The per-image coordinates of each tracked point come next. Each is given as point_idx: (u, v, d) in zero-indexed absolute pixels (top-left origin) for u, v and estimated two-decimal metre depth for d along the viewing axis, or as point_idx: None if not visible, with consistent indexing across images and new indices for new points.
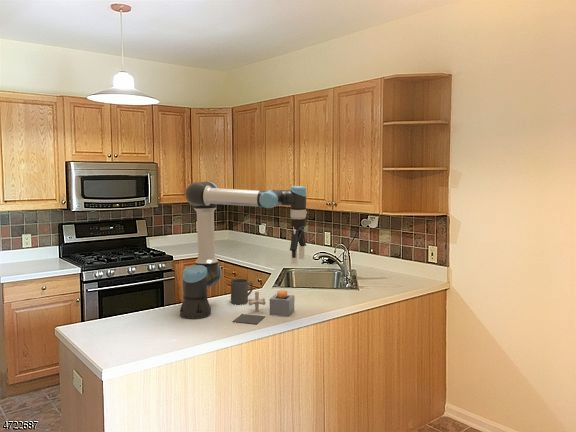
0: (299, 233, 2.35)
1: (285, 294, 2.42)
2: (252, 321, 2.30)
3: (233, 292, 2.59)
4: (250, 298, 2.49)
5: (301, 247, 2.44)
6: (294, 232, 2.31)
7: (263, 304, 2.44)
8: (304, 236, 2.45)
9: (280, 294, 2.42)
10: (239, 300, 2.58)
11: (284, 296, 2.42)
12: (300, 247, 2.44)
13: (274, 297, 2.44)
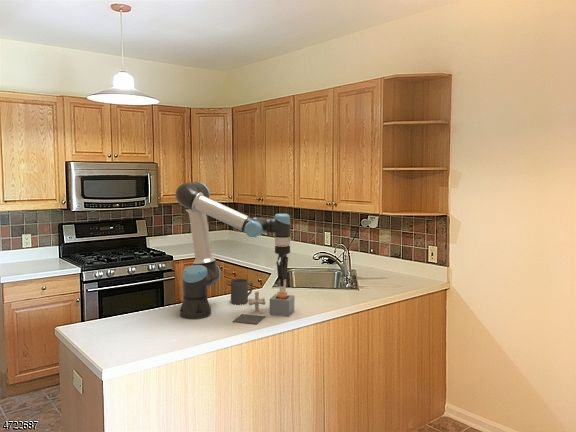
0: (284, 261, 2.40)
1: (285, 295, 2.42)
2: (252, 321, 2.30)
3: (233, 292, 2.59)
4: (250, 298, 2.49)
5: None
6: (279, 264, 2.37)
7: (263, 304, 2.44)
8: None
9: (280, 295, 2.42)
10: (239, 300, 2.58)
11: (284, 297, 2.42)
12: None
13: (274, 297, 2.44)
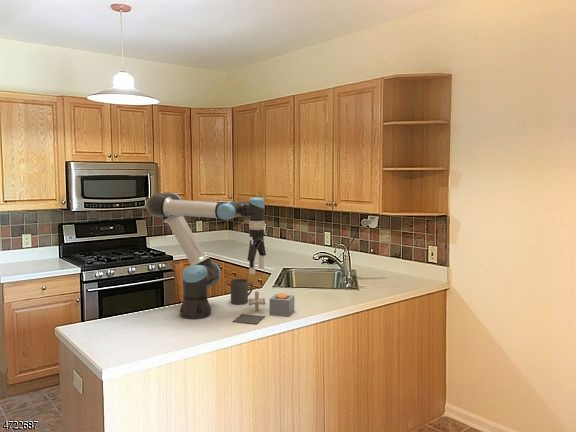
0: (257, 243, 2.41)
1: (285, 297, 2.42)
2: (252, 321, 2.30)
3: (233, 292, 2.59)
4: (250, 298, 2.49)
5: (261, 257, 2.51)
6: (252, 243, 2.38)
7: (263, 304, 2.44)
8: (264, 246, 2.52)
9: (280, 297, 2.42)
10: (239, 300, 2.58)
11: None
12: (260, 257, 2.51)
13: (274, 297, 2.44)
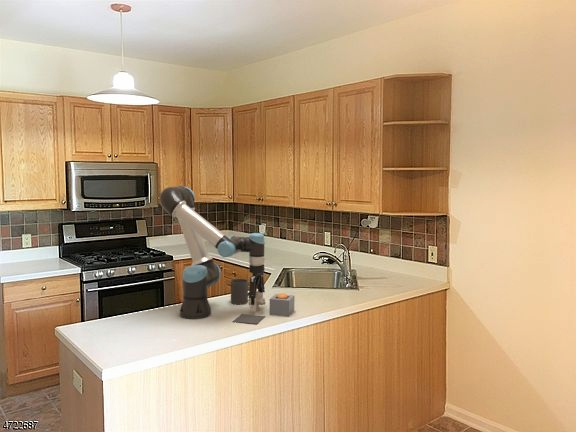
0: (257, 279, 2.43)
1: (285, 297, 2.42)
2: (252, 321, 2.30)
3: (233, 292, 2.59)
4: None
5: (260, 293, 2.52)
6: (252, 280, 2.40)
7: (263, 304, 2.44)
8: (263, 282, 2.53)
9: (280, 297, 2.42)
10: (239, 300, 2.58)
11: None
12: (259, 293, 2.52)
13: (274, 297, 2.44)
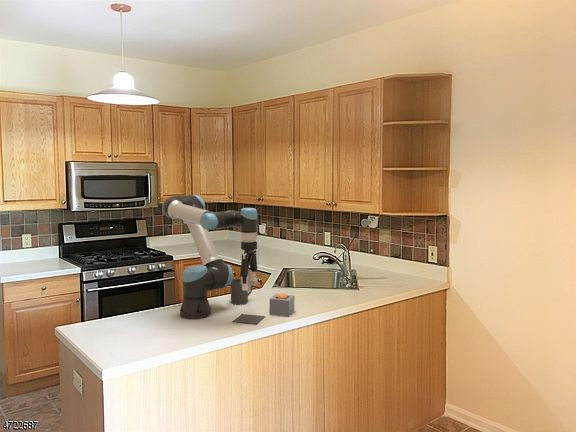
0: (249, 257, 2.28)
1: (285, 297, 2.42)
2: (252, 321, 2.30)
3: (233, 292, 2.59)
4: None
5: (252, 273, 2.37)
6: (243, 257, 2.25)
7: (256, 283, 2.29)
8: (256, 260, 2.38)
9: (280, 297, 2.42)
10: (239, 300, 2.58)
11: None
12: (251, 273, 2.37)
13: (274, 297, 2.44)
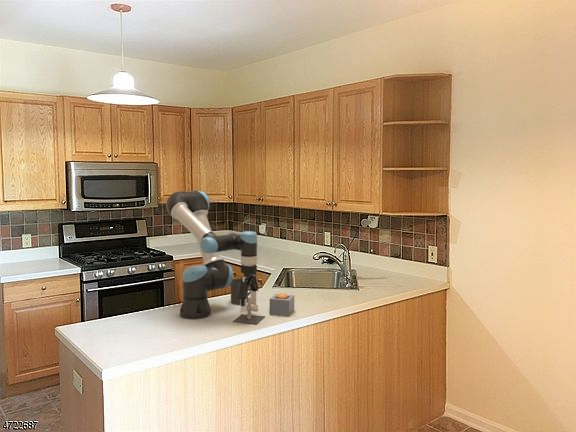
0: (249, 280, 2.29)
1: (285, 297, 2.42)
2: (252, 321, 2.30)
3: (233, 292, 2.59)
4: None
5: (253, 292, 2.39)
6: (243, 280, 2.25)
7: (256, 311, 2.30)
8: (256, 281, 2.40)
9: (280, 297, 2.42)
10: (239, 300, 2.58)
11: None
12: (252, 292, 2.39)
13: (274, 297, 2.44)
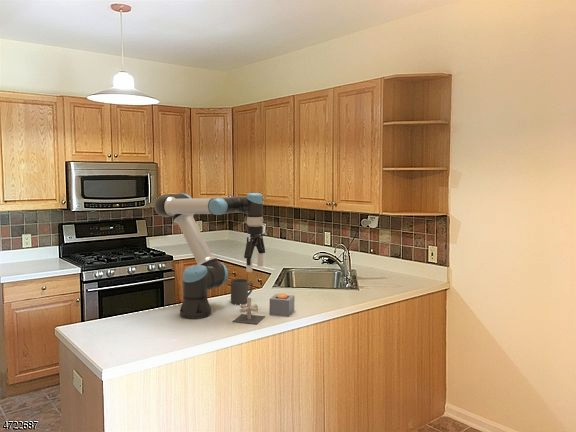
0: (255, 240, 2.33)
1: (285, 297, 2.42)
2: (252, 321, 2.30)
3: (233, 292, 2.59)
4: (242, 305, 2.36)
5: (260, 254, 2.43)
6: (249, 239, 2.30)
7: (255, 311, 2.30)
8: (263, 243, 2.44)
9: (280, 297, 2.42)
10: (239, 300, 2.58)
11: None
12: (259, 254, 2.43)
13: (274, 297, 2.44)
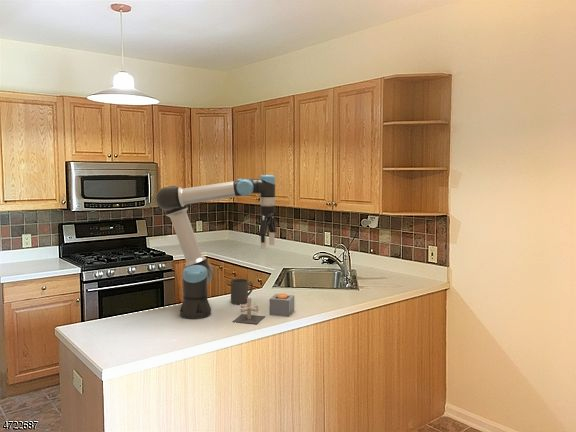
0: (268, 219, 2.47)
1: (285, 297, 2.42)
2: (252, 321, 2.30)
3: (233, 292, 2.59)
4: (242, 305, 2.36)
5: (271, 233, 2.57)
6: (263, 218, 2.43)
7: (256, 311, 2.30)
8: (274, 223, 2.57)
9: (280, 297, 2.42)
10: (239, 300, 2.58)
11: None
12: (270, 233, 2.57)
13: (274, 297, 2.44)
